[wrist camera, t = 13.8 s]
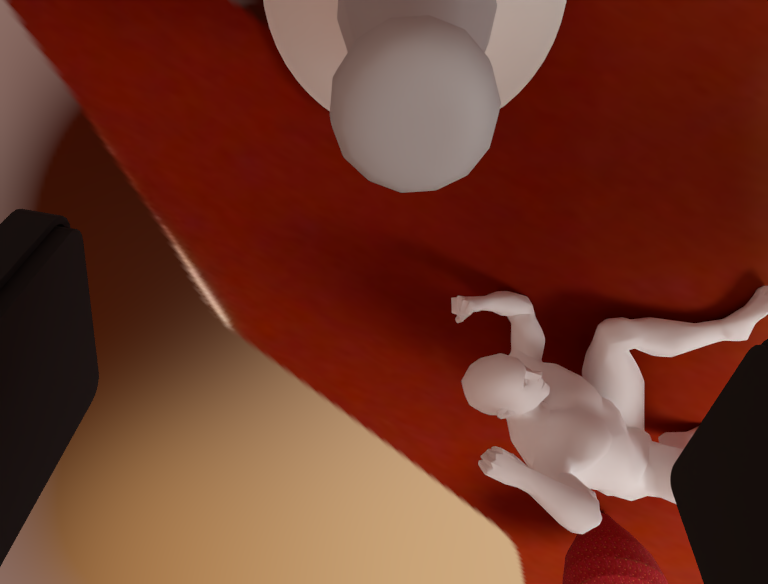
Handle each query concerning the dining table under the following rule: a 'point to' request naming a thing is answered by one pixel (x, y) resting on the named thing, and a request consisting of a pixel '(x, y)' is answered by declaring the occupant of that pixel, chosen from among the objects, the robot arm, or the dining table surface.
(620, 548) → the strawberry
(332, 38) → the ceramic coaster
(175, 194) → the dining table surface
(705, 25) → the dining table surface
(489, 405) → the person figurine
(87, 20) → the dining table surface
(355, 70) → the salt shaker
